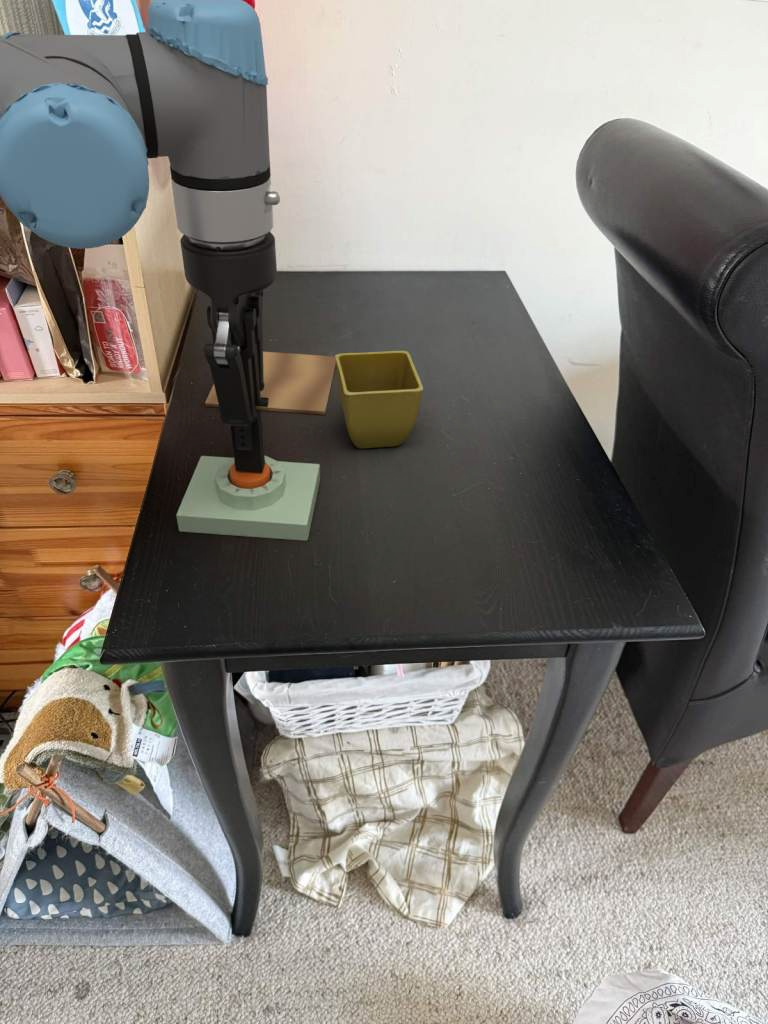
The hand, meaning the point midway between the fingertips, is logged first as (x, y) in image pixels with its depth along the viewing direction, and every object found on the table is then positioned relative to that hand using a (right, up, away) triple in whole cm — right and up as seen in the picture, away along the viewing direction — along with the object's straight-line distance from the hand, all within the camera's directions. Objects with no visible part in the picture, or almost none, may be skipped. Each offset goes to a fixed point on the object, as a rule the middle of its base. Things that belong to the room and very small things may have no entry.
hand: (250, 467), depth 74 cm
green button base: (0, -4, +3) cm, 5 cm away
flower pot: (+12, +4, +14) cm, 19 cm away
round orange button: (0, -2, +1) cm, 2 cm away
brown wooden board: (-1, +13, +22) cm, 25 cm away
